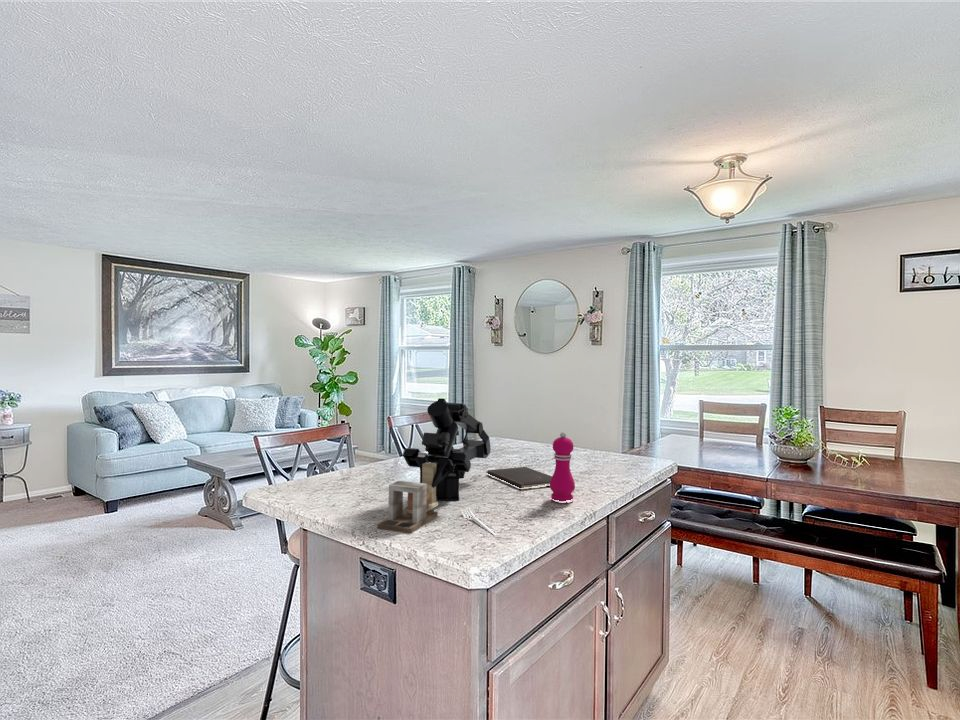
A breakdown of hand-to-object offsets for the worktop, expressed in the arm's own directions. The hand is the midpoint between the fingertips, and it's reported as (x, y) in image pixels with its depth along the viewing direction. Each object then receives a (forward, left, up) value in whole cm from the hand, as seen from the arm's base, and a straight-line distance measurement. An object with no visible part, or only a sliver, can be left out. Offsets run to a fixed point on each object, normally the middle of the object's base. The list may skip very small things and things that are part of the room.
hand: (426, 486), depth 137 cm
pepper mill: (-39, -9, -7) cm, 41 cm away
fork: (-13, +12, -7) cm, 19 cm away
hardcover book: (-32, -35, -7) cm, 48 cm away
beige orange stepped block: (+1, +2, -5) cm, 6 cm away
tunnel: (+5, +10, -7) cm, 13 cm away
